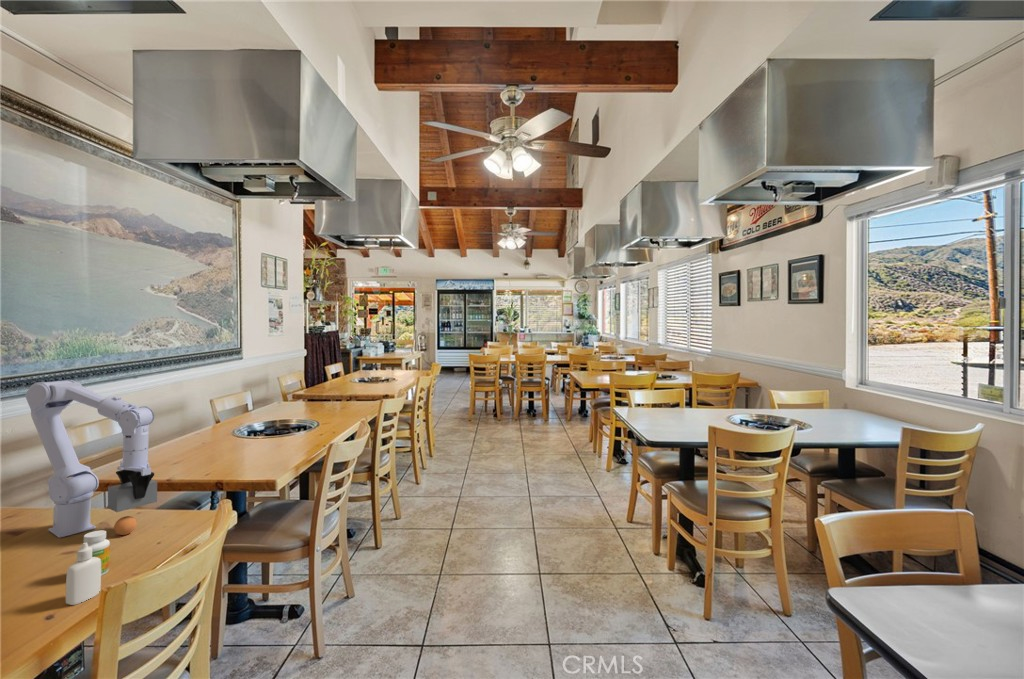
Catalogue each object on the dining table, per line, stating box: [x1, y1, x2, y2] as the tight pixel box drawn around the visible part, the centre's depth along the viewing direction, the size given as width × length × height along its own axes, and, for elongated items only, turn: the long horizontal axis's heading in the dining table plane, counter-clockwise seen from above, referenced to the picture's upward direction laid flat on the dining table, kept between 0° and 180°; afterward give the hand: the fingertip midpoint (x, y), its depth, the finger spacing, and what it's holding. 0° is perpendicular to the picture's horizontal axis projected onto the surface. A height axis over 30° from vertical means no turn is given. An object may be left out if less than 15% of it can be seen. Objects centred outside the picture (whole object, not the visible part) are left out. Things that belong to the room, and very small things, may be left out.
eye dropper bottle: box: [65, 542, 102, 606], centre depth 98 cm, size 4×6×12 cm
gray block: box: [107, 479, 158, 513], centre depth 131 cm, size 6×10×6 cm, turn 150°
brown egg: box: [113, 515, 138, 536], centre depth 130 cm, size 5×5×5 cm
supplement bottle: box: [79, 530, 111, 577], centre depth 108 cm, size 5×5×10 cm
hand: (134, 495), depth 132 cm, fingers closed on gray block, 6 cm apart
